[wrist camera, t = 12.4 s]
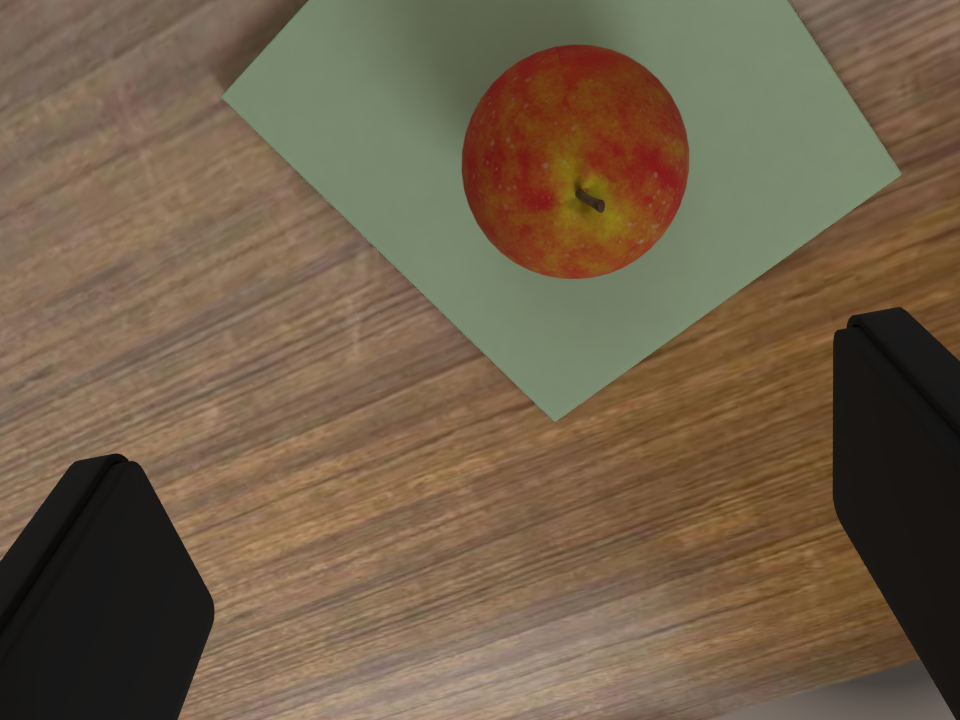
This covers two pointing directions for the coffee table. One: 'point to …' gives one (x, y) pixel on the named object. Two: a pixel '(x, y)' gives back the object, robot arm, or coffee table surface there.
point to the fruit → (575, 161)
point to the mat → (440, 137)
